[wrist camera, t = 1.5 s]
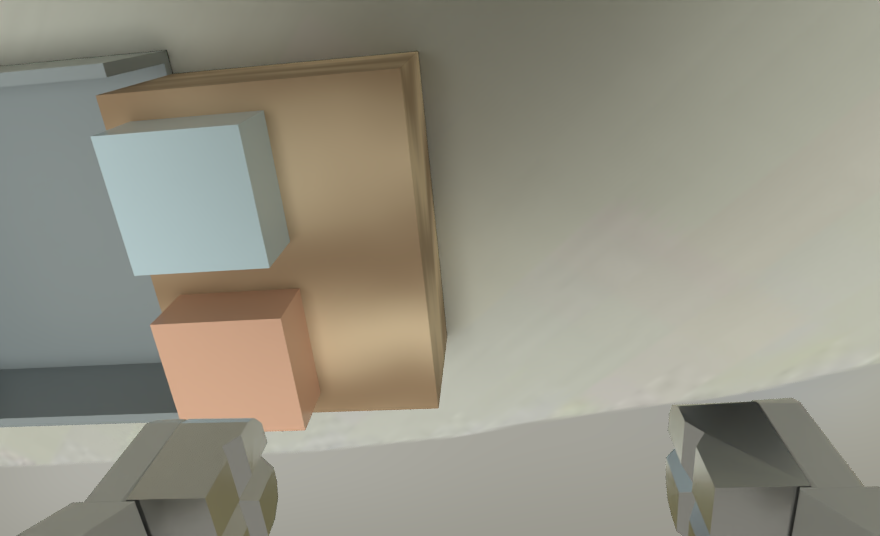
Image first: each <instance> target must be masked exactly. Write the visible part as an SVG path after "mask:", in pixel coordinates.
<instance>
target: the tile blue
mask: <svg viewBox="0 0 880 536" xmlns="http://www.w3.org/2000/svg"><path fill="white" fill-rule="evenodd" d="M91 140H92V143H93V147H94V150H95V153H96V156H97V159H98V162H99V166H100V169H101V172H102V175H103V178H104V181H105V185H106V188H107V191H108V194H109V197H110V200H111V204H112V207H113V210H114V213H115V216H116V219H117V223H118V226H119V229H120V232H121V235H122V238H123V242H124V245H125V248H126V251H127V254H128V257H129V261H130V264H131V267H132V270H133V273H134V276H141V275H158V274H176V273H193V272H210V271H228V270H245V269H263V268H270V267H271V266H272V264H273V263H274V262H275V260H276V259H277V258H278V257H279V255H280V254H281V253H282V251H283V250H284V249H285V248H286V246H287V245H288V244H289V242H290V239H289V234H288V229H287V224H286V219H285V214H284V209H283V204H282V199H281V194H280V189H279V184H278V179H277V174H276V169H275V164H274V159H273V154H272V149H271V145H270V140H269V135H268V130H267V125H266V120H265V115H264V110H260V111H248V112H236V113H225V114H213V115H201V116H189V117H177V118H165V119H153V120H141V121H130V122H127V123H125V124H122V125H119V126H117V127H114V128H112V129H109V130H106V131H104V132H101V133H98V134H96V135H93V136H91Z"/></svg>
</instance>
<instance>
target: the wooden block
mask: <svg viewBox="0 0 880 536" xmlns="http://www.w3.org/2000/svg"><path fill="white" fill-rule="evenodd" d="M96 99H97V102H98V105H99V108H100V112H101V115H102V118H103V122H104V125H105V128H106V130H109V129H112V128H114V127H117V126H119V125H122V124H125V123H127V122H130V121H141V120H153V119H165V118H177V117H189V116H201V115H213V114H225V113H236V112H248V111H260V110H264V115H265V120H266V125H267V130H268V135H269V140H270V145H271V149H272V154H273V159H274V164H275V169H276V174H277V179H278V184H279V189H280V194H281V199H282V204H283V209H284V214H285V219H286V224H287V229H288V234H289V239H290V242H289V244H288V245H287V246H286V248H285V249H284V250H283V251H282V253H281V254H280V255H279V257H278V258H277V259H276V260H275V262H274V263H273V264H272V266H271V267H270V268H263V269H245V270H228V271H210V272H193V273H176V274H158V275H150V276H151V279H152V282H153V286H154V289H155V292H156V296H157V299H158V302H159V305H160V309H161V312H163V311H164V310H165V309H166V308H167V307H168V306H169V305H170V304H171V303H172V302H173V301H174V300H175V299H176V298H177V297H178V296H179V295H184V294H203V293H221V292H240V291H258V290H277V289H296V288H300V293H301V298H302V303H303V308H304V313H305V318H306V323H307V328H308V333H309V338H310V343H311V347H312V352H313V357H314V362H315V367H316V372H317V377H318V382H319V387H320V392H321V393H320V396H319V398H318V401H317V403H316V405H315V408H314V410H313V412H341V411H371V410H401V409H432V408H439V400H440V392H441V383H442V375H443V367H444V359H445V350H446V342H447V331H446V321H445V312H444V302H443V292H442V282H441V272H440V262H439V252H438V242H437V233H436V223H435V213H434V203H433V193H432V183H431V173H430V164H429V154H428V144H427V134H426V124H425V114H424V104H423V94H422V85H421V75H420V65H419V55H418V51H416V52H406V53H395V54H384V55H373V56H362V57H351V58H340V59H329V60H318V61H307V62H296V63H286V64H275V65H264V66H253V67H242V68H231V69H220V70H209V71H198V72H187V73H176V74H170V75H167V76H163V77H159V78H156V79H152V80H149V81H145V82H142V83H138V84H135V85H131V86H128V87H124V88H120V89H117V90H113V91H110V92H106V93H103V94H99V95H96Z"/></svg>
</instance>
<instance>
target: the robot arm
mask: <svg viewBox="0 0 880 536" xmlns="http://www.w3.org/2000/svg"><path fill="white" fill-rule="evenodd" d="M668 432H669V435H670V437H671V440H672V442H673V445H674V447H675V449H674V450H673V451H672V452H671V453H670V454H669V455H668V456H667V457H666V488H667V498H668V503H669V508H670V512H671V516H672V519H673V522H674V525H675V528H676V531H677V532H678V533H680V534H681V535H682V536H880V487H878V486H874V487H865V486H864V485H863V484H862V482H861V481H860V480H859V478H858V477H857V476H856V475H855V473H854V472H853V471H852V470H851V468H850V467H849V465H848V464H847V463H846V461H845V460H844V459H843V458H842V456H841V455H840V454H839V452H838V451H837V450H836V448H835V447H834V446H833V445H832V444H831V442H830V441H829V439H828V438H827V437H826V435H825V434H824V433H823V431H822V430H821V429H820V427H819V426H818V425H817V424H816V422H815V421H814V420H813V419H812V417H811V416H810V415H809V413H808V412H807V410H806V409H805V408H804V407H803V406H802V404H801V403H800V402H799V401H797V400H795V399H793V398H782V399H766V400H752V401H751V402H730V403H706V404H680V405H672V406H671V410H670V413H669V422H668ZM266 444H267V439H266V436H265V433H264V429H263V426H262V423H261V422H259V421H258V420H257V419H255V418H222V419H188V420H186V419H169V420H154V421H152V422H149V423H147V424H146V425H145V426H144V427H143V428H142V430H141V431H140V432H139V433H138V435H137V436H136V437H135V438H134V440H133V441H132V442H131V443H130V445H129V446H128V447H127V448H126V450H125V451H124V452H123V453H122V455H121V456H120V457H119V459H118V460H117V461H116V462H115V464H114V465H113V466H112V467H111V469H110V470H109V471H108V472H107V474H106V475H105V476H104V478H103V479H102V480H101V481H100V483H99V484H98V485H97V486H96V488H95V489H94V490H93V491H92V493H91V494H90V495H89V496H88V498H87V499H86V500H85V501H84V502H79V503H77V502H76V503H71V504H69V505H68V506H66V507H64V508H62V509H61V510H59V511H57V512H56V513H54V514H52V515H51V516H49V517H47V518H46V519H44V520H42V521H40V522H39V523H37V524H36V525H34V526H32V527H30V528H29V529H27V530H25V531H23V532H22V533H20V534H18V535H17V536H269V534H270V531H271V528H272V526H273V523H274V520H275V515H276V509H277V502H278V489H277V479H276V476H275V471H274V467H273V466H271V465H270V464H269V463H268V462H267V461H266V460H265V459H264V458H263V457H262V456H261V454H262V452H263V450H264V448H265V446H266Z"/></svg>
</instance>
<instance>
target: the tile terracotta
mask: <svg viewBox="0 0 880 536" xmlns="http://www.w3.org/2000/svg"><path fill="white" fill-rule="evenodd" d="M150 327H151V330H152V333H153V337H154V340H155V343H156V346H157V349H158V352H159V356H160V359H161V362H162V365H163V368H164V371H165V375H166V378H167V381H168V384H169V387H170V390H171V394H172V397H173V400H174V403H175V406H176V409H177V412H178V416H179V419H186V420H188V419H222V418H255V419H257V420H258V421H259V422H261V423H262V426H263V429H264V432H265V431H298V430H306V427H307V425H308V422H309V420H310V418H311V415H312V413H313V410H314V408H315V405H316V403H317V401H318V398H319V396H320V393H321V392H320V387H319V382H318V377H317V372H316V367H315V362H314V357H313V352H312V347H311V343H310V338H309V333H308V328H307V323H306V318H305V313H304V308H303V303H302V298H301V293H300V288H296V289H277V290H258V291H240V292H221V293H203V294H184V295H179V296H178V297H177V298H176V299H175V300H174V301H173V302H172V303H171V304H170V305H169V306H168V307H167V308H166V309H165V310H164V311H163V312H162V313H161V314H160V315H159V316H158V317H157V318H156V319H155V320H154V321H153V322H152V323H151V324H150Z"/></svg>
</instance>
